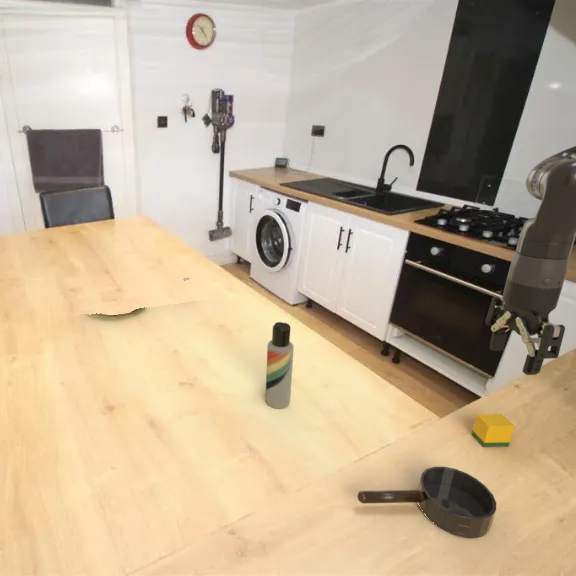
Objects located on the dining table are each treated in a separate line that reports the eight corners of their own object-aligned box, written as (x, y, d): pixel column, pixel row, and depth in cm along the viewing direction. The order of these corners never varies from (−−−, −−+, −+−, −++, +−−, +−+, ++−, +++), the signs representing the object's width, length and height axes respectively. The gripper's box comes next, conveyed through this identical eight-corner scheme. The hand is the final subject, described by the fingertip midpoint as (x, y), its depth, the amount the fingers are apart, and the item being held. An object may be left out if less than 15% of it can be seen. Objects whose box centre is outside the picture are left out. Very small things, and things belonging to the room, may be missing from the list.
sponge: (495, 434, 84) (501, 413, 82) (508, 446, 80) (514, 425, 79) (471, 434, 84) (476, 414, 82) (483, 447, 80) (488, 426, 79)
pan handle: (420, 495, 68) (422, 487, 67) (426, 504, 66) (428, 496, 65) (354, 496, 68) (356, 488, 67) (359, 506, 66) (360, 497, 65)
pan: (464, 483, 72) (468, 465, 71) (506, 537, 63) (512, 518, 61) (405, 484, 72) (408, 467, 71) (438, 538, 63) (443, 519, 61)
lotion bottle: (274, 391, 100) (278, 317, 93) (294, 401, 96) (300, 324, 89) (260, 402, 96) (263, 325, 89) (280, 412, 92) (285, 333, 85)
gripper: (594, 293, 64) (564, 382, 69) (525, 266, 77) (504, 342, 83) (546, 294, 64) (520, 383, 69) (485, 267, 77) (467, 343, 83)
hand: (511, 361), depth 76 cm, fingers open, 8 cm apart
